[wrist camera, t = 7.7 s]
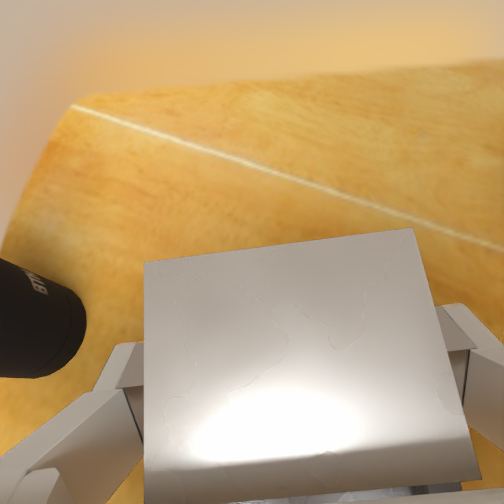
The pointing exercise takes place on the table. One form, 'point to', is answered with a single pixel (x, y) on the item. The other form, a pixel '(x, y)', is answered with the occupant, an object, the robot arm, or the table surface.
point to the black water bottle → (36, 323)
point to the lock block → (297, 374)
